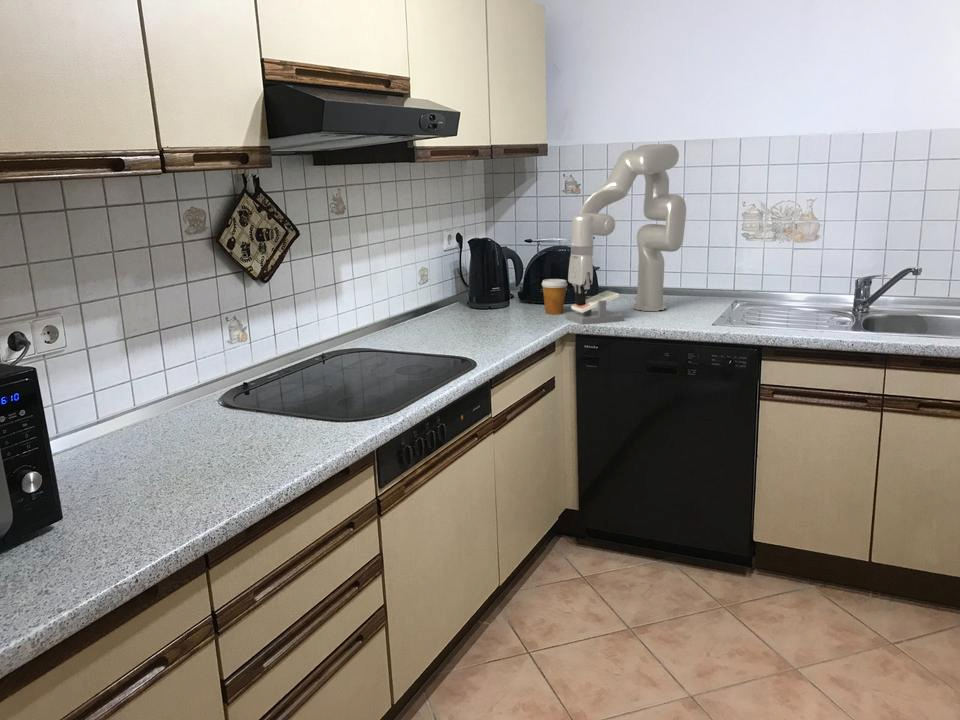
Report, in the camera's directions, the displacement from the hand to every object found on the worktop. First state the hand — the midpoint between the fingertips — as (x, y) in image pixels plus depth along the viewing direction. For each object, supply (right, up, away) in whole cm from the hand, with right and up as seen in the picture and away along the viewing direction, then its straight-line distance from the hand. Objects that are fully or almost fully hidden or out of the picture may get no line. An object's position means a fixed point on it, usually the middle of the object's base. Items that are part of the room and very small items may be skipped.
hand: (580, 304), depth 271 cm
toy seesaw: (+5, -5, +3) cm, 8 cm away
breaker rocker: (+5, +1, +2) cm, 6 cm away
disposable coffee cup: (-7, -2, +17) cm, 19 cm away
